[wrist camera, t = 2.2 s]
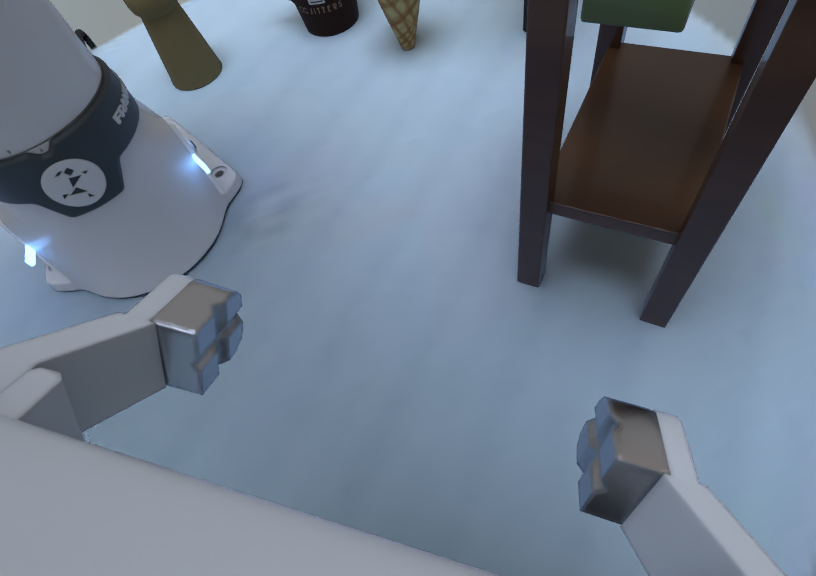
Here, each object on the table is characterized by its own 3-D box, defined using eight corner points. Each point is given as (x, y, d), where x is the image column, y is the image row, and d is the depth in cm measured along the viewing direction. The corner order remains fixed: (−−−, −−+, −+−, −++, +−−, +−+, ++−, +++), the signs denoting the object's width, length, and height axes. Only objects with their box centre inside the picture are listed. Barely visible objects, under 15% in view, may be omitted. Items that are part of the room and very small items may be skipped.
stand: (669, 334, 33) (1077, -301, 9) (509, 283, 37) (516, -252, 13) (721, 146, 40) (1025, -478, 17) (583, 120, 44) (671, -412, 21)
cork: (229, 55, 59) (177, -45, 49) (211, 89, 56) (152, -11, 46) (184, 58, 60) (125, -39, 51) (164, 91, 57) (98, -6, 48)
